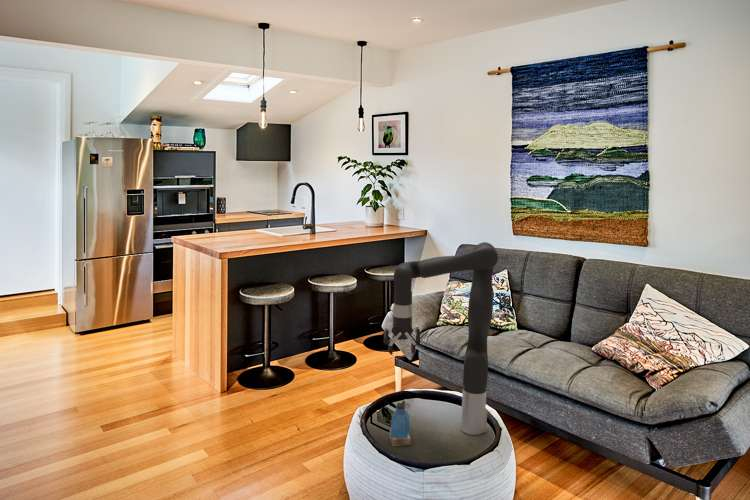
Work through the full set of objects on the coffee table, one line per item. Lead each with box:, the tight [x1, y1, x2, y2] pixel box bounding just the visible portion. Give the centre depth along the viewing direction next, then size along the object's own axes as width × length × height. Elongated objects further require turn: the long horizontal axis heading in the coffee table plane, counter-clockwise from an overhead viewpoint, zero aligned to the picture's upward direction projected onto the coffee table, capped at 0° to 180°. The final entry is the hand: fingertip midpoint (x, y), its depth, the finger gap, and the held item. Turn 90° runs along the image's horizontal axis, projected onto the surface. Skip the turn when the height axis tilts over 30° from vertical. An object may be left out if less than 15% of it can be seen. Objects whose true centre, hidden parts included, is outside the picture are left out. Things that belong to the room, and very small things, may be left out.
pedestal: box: [388, 429, 412, 447], centre depth 208 cm, size 7×7×3 cm
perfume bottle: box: [390, 402, 410, 439], centre depth 207 cm, size 6×6×12 cm
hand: (401, 353), depth 216 cm, fingers open, 8 cm apart
